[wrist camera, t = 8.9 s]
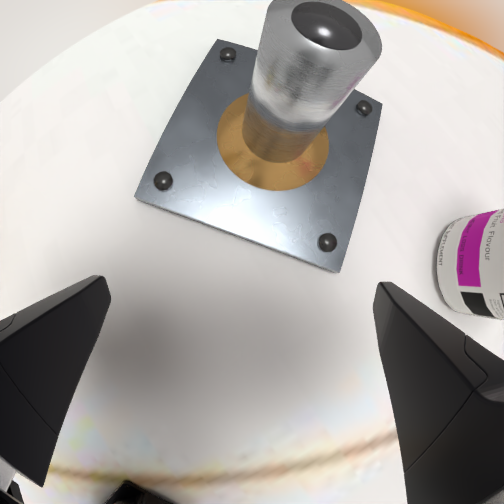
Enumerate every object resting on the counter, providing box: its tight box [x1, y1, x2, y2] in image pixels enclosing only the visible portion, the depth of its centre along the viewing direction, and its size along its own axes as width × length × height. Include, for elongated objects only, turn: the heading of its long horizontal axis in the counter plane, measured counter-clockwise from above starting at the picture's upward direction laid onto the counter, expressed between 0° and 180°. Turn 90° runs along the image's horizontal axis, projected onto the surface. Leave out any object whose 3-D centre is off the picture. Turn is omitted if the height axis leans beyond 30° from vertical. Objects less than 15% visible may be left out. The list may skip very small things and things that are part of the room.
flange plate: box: [134, 39, 382, 273], centre depth 19 cm, size 14×14×1 cm
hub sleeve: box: [242, 0, 382, 163], centre depth 14 cm, size 5×5×11 cm
